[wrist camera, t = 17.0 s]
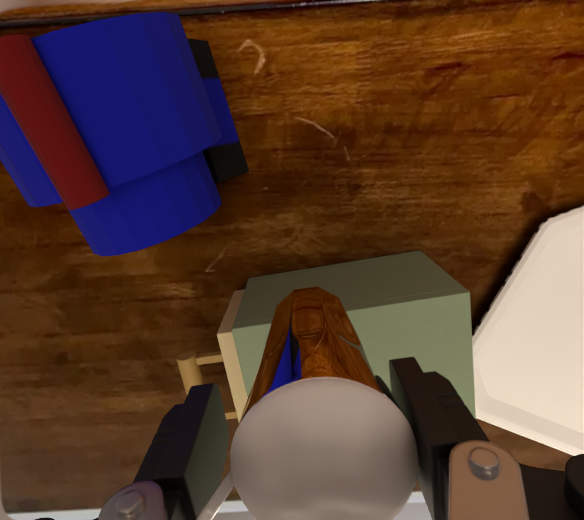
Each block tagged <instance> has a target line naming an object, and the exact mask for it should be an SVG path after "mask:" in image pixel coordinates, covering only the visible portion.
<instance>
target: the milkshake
mask: <svg viewBox="0 0 584 520" xmlns="http://www.w3.org/2000/svg"><path fill="white" fill-rule="evenodd" d="M230 464H231V469H230V470H229V472H228V473H227V475H226V476H225V478H224V479H223V481H222V482H221V483H220V485H219V486H218V488H217V489H216V491H215V492H214V494H213V495H212V497H211V498H210V500H209V501H208V503H207V504H206V505H205V507H204V508H203V510H202V511H201V513H200V514H199V516H198V517H197V519H196V520H212V519H213V517H214V516H215V514H216V513H217V511H218V510H219V508H220V507H221V505H222V503H223V502H224V500H225V499H226V497H227V496H228V494H229V493H230V491H231V489H232V488H233V486H234V485H235V487H236V489H237V492H238V494H239V496H240V498H241V499H242V501H243V503H244V504H245V506H246V507H247V509H248V510H249V511H250V513H251V514H252V515H253V516H254V517H255V518H256V519H257V520H393V519H394V518H395V517H396V516H397V514H398V513H399V512H400V511H401V509H402V508H403V507H404V505H405V504H406V502H407V501H408V499H409V497H410V495H411V493H412V491H413V489H414V486H415V483H416V480H417V474H418V449H417V443H416V439H415V436H414V433H413V431H412V428H411V426H410V424H409V422H408V421H407V419H406V417H405V415H404V413H403V412H402V410H401V408H400V407H399V405H398V403H397V401H396V400H395V398H394V396H393V395H392V393H391V391H390V389H389V388H388V386H387V384H386V383H385V381H384V379H383V377H382V376H381V374H380V372H379V371H378V369H377V367H376V366H375V364H374V363H373V361H372V360H371V358H370V356H369V355H368V353H367V351H366V350H365V348H364V346H363V344H362V342H361V340H360V338H359V337H358V335H357V333H356V331H355V329H354V327H353V325H352V323H351V321H350V319H349V317H348V315H347V313H346V311H345V309H344V307H343V305H342V303H341V301H340V299H339V297H338V296H336V295H334V294H332V293H330V292H328V291H326V290H324V289H322V288H320V287H318V286H316V287H309V288H301V289H294V290H293V291H292V292H291V293H289V294H288V295H287V296H286V297H285V298H284V299H283V300H282V301H281V302H280V303H278V304H277V306H276V309H275V312H274V316H273V319H272V323H271V327H270V330H269V334H268V337H267V341H266V344H265V348H264V351H263V355H262V358H261V361H260V364H259V367H258V370H257V373H256V376H255V379H254V382H253V384H252V387H251V390H250V393H249V396H248V399H247V402H246V405H245V407H244V410H243V413H242V416H241V419H240V422H239V425H238V428H237V430H236V432H235V435H234V438H233V441H232V446H231V454H230Z"/></svg>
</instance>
